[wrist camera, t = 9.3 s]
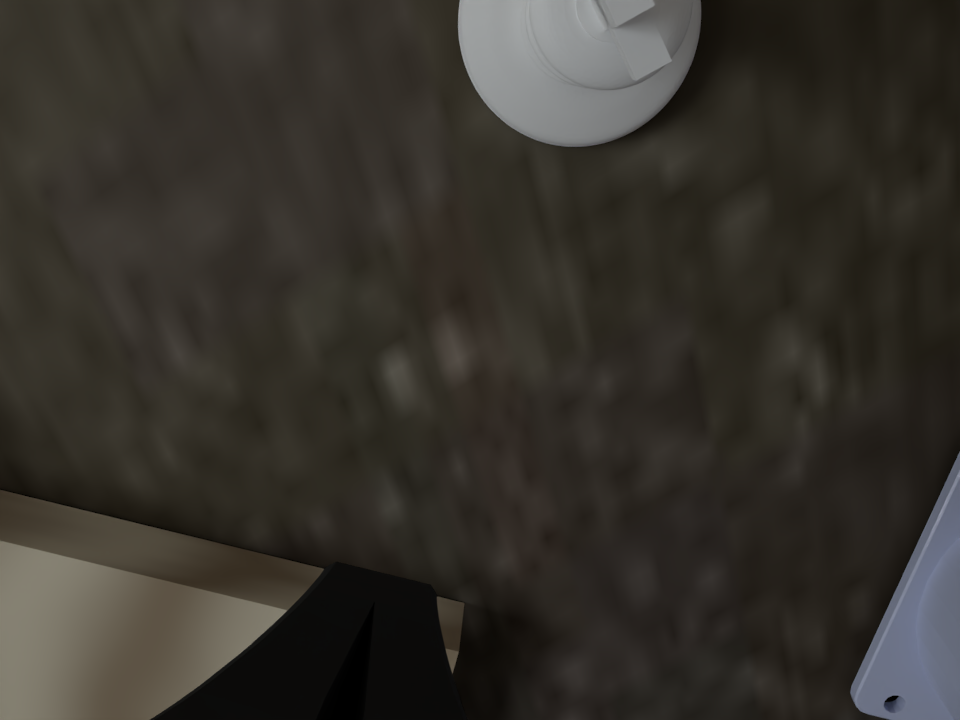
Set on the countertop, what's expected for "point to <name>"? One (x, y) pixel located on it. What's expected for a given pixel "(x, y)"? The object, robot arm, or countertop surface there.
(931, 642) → the robot arm
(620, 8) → the chess piece
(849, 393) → the countertop surface
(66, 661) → the board
